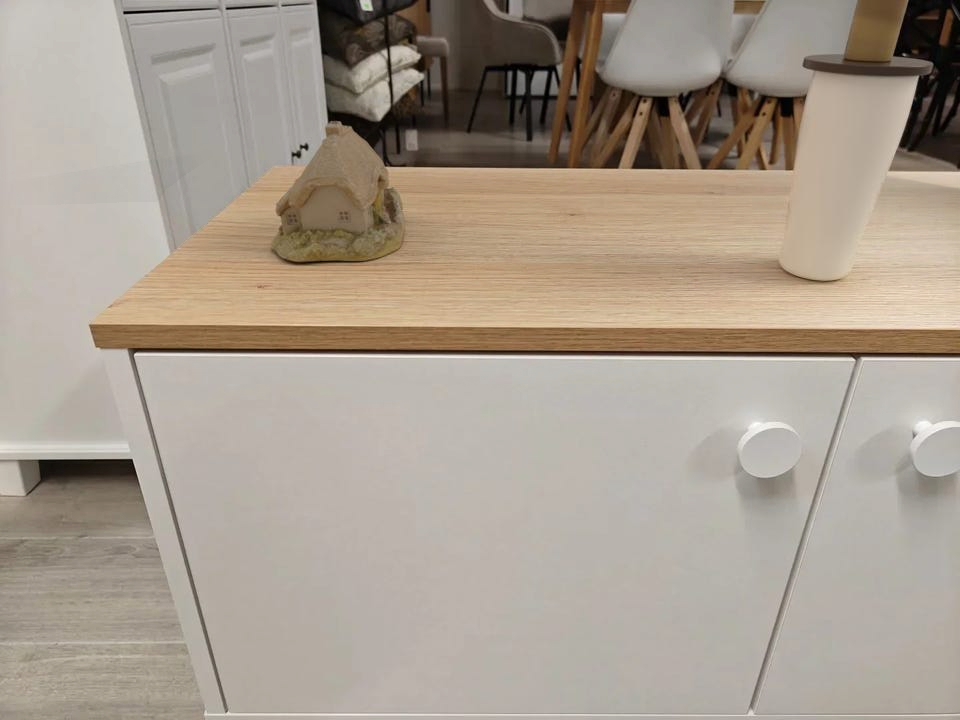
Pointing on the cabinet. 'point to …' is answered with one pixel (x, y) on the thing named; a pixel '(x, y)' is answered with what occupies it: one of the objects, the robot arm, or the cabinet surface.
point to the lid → (872, 44)
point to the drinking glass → (841, 168)
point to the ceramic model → (340, 204)
